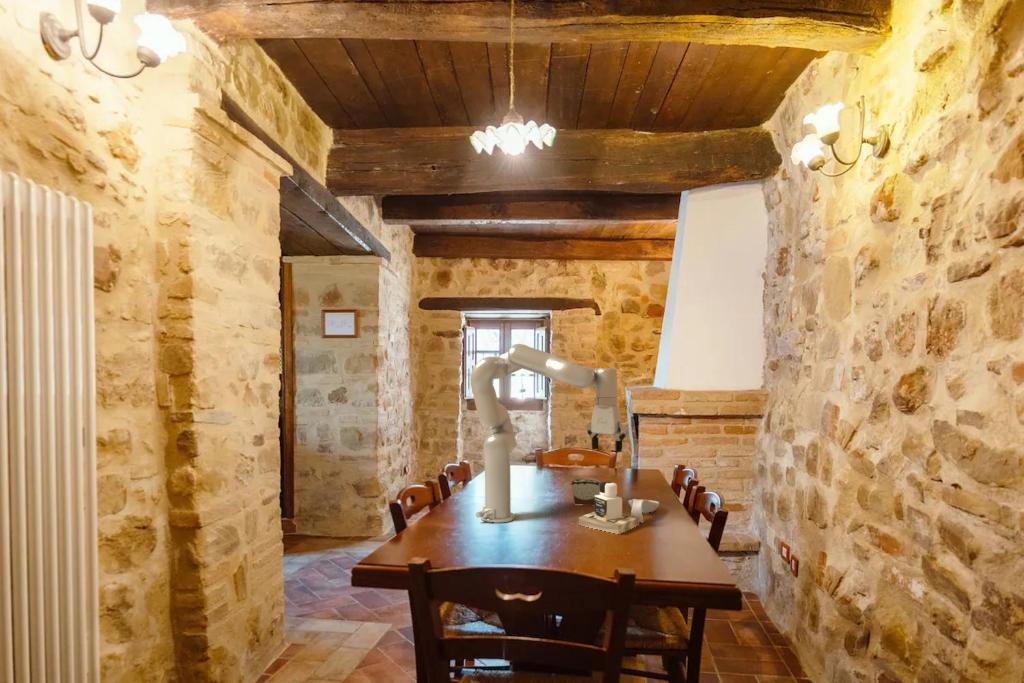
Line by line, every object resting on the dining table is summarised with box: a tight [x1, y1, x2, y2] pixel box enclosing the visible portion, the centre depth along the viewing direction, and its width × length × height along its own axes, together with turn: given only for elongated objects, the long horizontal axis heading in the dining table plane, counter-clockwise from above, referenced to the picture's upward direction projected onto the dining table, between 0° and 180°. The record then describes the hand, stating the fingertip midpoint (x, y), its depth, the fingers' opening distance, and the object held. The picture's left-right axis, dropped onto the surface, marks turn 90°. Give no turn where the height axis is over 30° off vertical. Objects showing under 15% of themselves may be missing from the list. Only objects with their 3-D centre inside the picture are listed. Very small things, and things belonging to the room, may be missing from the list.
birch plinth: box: [578, 511, 640, 535], centre depth 193 cm, size 14×16×3 cm
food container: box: [570, 477, 601, 505], centre depth 225 cm, size 12×6×10 cm, turn 84°
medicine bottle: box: [593, 481, 623, 520], centre depth 194 cm, size 7×7×12 cm
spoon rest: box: [628, 498, 660, 524], centre depth 208 cm, size 24×12×7 cm, turn 159°
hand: (606, 450), depth 195 cm, fingers open, 9 cm apart
